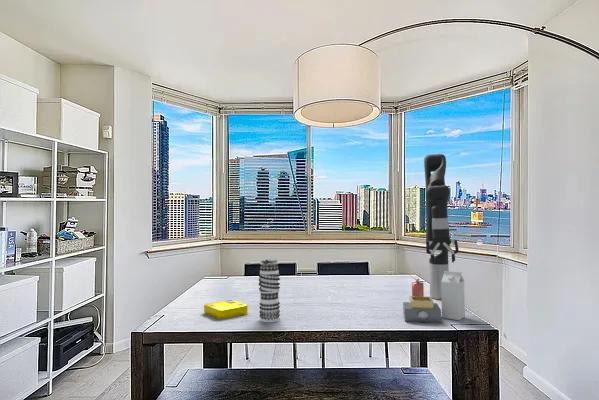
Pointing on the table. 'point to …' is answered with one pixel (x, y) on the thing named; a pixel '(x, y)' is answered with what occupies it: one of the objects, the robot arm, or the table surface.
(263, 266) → the decorative candle
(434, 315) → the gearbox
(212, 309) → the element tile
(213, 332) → the table surface
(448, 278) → the milk carton
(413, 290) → the red bottle
